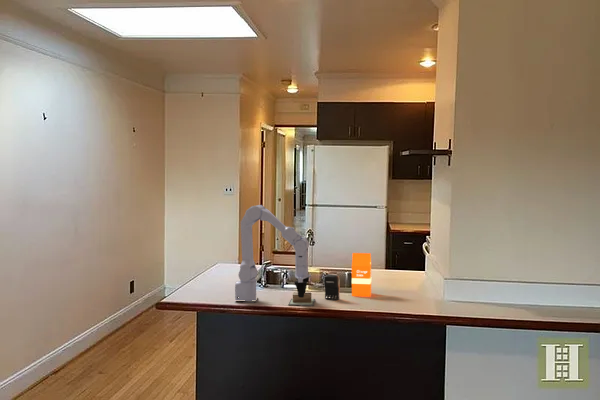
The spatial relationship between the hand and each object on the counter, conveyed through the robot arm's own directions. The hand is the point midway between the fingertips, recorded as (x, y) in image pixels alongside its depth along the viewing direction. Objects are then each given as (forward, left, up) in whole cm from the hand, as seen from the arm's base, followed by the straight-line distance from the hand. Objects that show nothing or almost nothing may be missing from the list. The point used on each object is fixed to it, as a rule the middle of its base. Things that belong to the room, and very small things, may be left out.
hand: (301, 295), depth 234 cm
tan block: (0, 0, -3) cm, 3 cm away
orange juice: (+27, +18, -4) cm, 33 cm away
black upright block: (+13, +7, -4) cm, 15 cm away
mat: (0, 0, -3) cm, 3 cm away
